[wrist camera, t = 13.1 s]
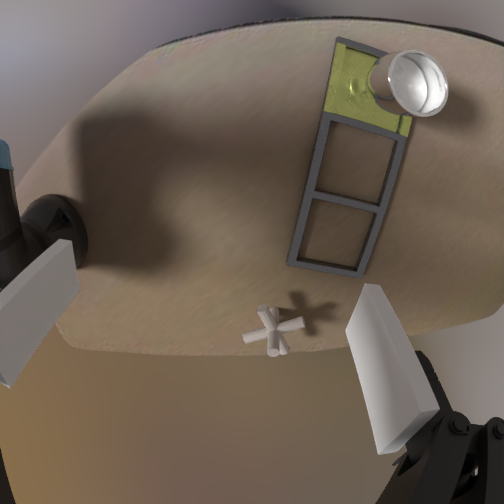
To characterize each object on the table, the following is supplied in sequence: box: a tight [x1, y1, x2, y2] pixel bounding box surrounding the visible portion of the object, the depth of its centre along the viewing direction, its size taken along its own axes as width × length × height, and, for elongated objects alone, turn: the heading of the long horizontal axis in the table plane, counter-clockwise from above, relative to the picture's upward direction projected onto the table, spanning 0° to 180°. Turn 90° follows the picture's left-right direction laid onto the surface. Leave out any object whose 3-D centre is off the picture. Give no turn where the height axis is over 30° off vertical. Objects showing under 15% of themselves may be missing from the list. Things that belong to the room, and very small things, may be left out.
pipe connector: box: [243, 304, 305, 357], centre depth 46 cm, size 10×10×10 cm
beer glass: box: [349, 49, 449, 117], centre depth 26 cm, size 7×7×15 cm
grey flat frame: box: [286, 37, 412, 278], centre depth 38 cm, size 12×34×1 cm, turn 170°
